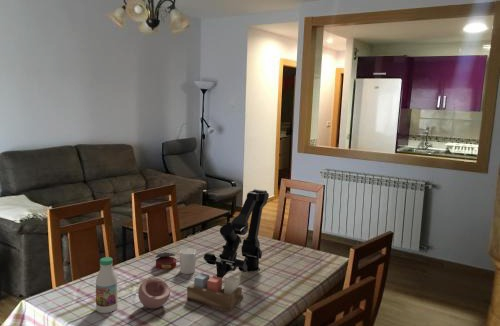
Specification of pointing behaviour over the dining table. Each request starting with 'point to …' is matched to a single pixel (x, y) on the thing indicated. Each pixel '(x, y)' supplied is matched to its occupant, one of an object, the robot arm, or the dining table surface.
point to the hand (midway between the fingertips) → (218, 281)
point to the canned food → (165, 261)
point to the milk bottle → (106, 287)
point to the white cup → (187, 260)
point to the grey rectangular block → (201, 280)
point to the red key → (214, 284)
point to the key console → (214, 297)
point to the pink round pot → (153, 293)
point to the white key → (230, 285)
